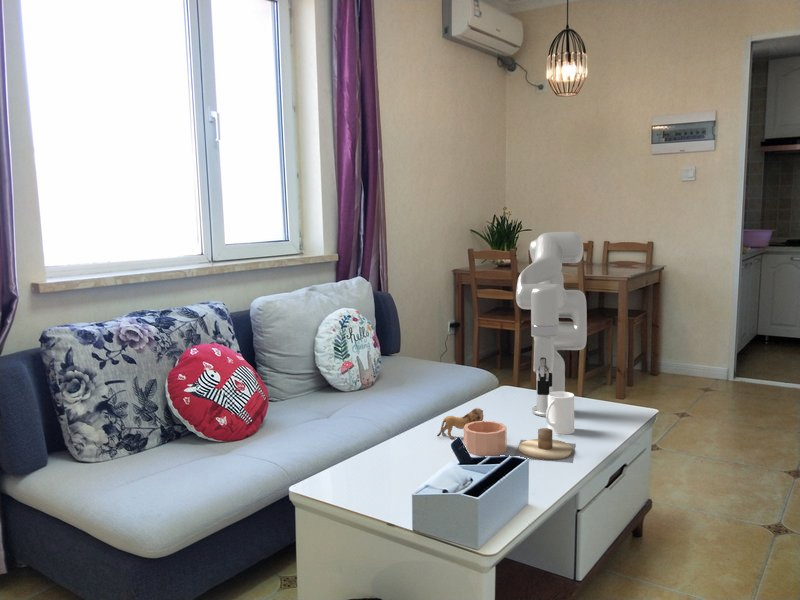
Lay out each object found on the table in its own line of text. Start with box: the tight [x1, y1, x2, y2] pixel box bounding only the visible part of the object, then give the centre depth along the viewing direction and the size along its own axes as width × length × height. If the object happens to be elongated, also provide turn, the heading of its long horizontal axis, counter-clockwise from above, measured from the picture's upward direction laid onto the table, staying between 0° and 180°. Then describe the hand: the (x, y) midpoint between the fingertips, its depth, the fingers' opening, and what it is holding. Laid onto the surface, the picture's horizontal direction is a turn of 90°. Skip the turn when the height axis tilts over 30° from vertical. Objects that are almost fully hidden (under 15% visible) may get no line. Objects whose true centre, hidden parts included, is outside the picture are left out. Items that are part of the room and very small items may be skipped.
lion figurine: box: [436, 407, 484, 440], centre depth 208 cm, size 15×5×9 cm, turn 92°
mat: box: [513, 439, 576, 464], centre depth 193 cm, size 16×16×1 cm
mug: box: [545, 391, 576, 435], centre depth 210 cm, size 12×8×12 cm
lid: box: [518, 427, 572, 461], centre depth 193 cm, size 15×15×6 cm
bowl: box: [463, 420, 508, 457], centre depth 196 cm, size 12×12×7 cm
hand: (545, 390), depth 191 cm, fingers open, 9 cm apart
